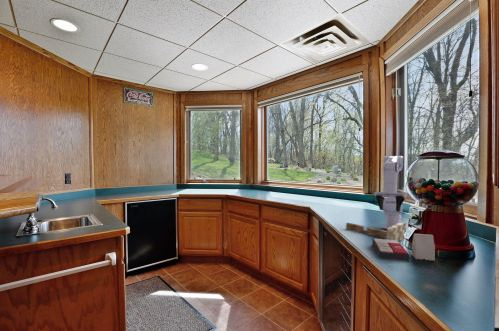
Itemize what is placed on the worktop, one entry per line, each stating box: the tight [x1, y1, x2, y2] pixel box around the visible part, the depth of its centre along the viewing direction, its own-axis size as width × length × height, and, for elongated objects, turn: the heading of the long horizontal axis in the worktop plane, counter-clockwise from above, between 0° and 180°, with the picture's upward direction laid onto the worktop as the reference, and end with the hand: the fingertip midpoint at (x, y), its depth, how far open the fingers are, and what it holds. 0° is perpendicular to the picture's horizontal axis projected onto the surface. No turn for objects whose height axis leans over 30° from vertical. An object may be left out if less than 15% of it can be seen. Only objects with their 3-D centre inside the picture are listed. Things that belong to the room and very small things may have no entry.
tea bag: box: [411, 233, 436, 262], centre depth 98 cm, size 4×7×10 cm, turn 72°
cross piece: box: [386, 221, 407, 242], centre depth 118 cm, size 18×2×8 cm, turn 128°
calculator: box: [371, 238, 410, 262], centre depth 103 cm, size 11×4×15 cm
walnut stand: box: [345, 222, 387, 240], centre depth 131 cm, size 22×2×4 cm, turn 38°
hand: (389, 210), depth 117 cm, fingers open, 7 cm apart
